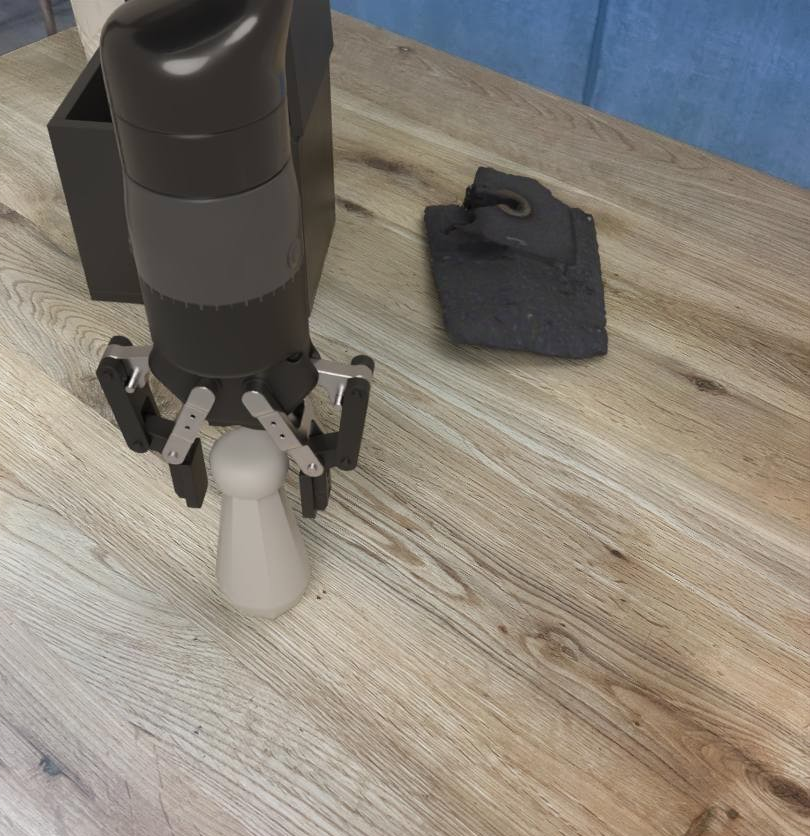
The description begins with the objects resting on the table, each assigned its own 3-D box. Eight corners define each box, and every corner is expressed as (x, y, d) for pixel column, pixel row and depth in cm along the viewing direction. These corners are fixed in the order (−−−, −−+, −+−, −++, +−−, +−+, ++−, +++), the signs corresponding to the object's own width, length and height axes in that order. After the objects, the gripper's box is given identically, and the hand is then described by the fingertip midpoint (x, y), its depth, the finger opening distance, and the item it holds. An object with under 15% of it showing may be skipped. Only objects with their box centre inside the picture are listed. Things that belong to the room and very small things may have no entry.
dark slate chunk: (417, 363, 81) (418, 312, 77) (424, 205, 95) (425, 157, 92) (616, 370, 81) (626, 320, 77) (593, 211, 95) (601, 163, 92)
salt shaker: (300, 638, 64) (285, 491, 54) (209, 624, 65) (178, 476, 55) (322, 565, 68) (311, 415, 58) (236, 552, 68) (211, 402, 59)
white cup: (114, 91, 108) (94, -11, 101) (68, 66, 112) (45, -34, 104) (174, 65, 112) (159, -34, 105) (128, 42, 116) (110, -56, 108)
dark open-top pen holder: (91, 300, 86) (46, 125, 74) (137, 206, 95) (104, 37, 83) (309, 317, 85) (298, 142, 73) (335, 220, 94) (329, 51, 82)
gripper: (389, 213, 49) (388, 466, 62) (88, 191, 50) (148, 445, 63) (368, 311, 44) (371, 565, 57) (35, 285, 45) (112, 540, 58)
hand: (254, 501), depth 60 cm, fingers open, 6 cm apart
